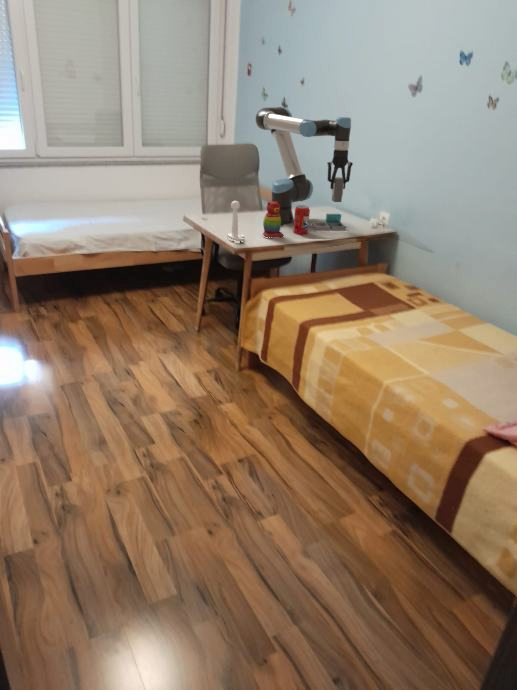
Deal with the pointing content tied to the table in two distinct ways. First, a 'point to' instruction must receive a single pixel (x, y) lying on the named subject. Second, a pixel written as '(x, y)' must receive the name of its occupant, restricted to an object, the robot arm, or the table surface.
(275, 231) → the stacking bear
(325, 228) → the gray square tray
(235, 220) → the joystick
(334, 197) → the grey upright block
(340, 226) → the port
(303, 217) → the soda can
